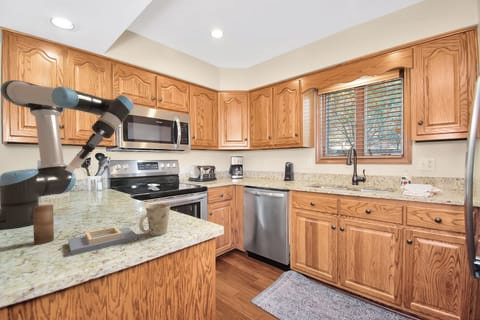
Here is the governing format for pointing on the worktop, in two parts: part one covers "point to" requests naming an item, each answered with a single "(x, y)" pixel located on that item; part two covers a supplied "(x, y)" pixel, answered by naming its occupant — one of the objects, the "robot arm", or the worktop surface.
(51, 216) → the post
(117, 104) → the robot arm
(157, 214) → the mug
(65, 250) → the worktop surface
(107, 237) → the board
